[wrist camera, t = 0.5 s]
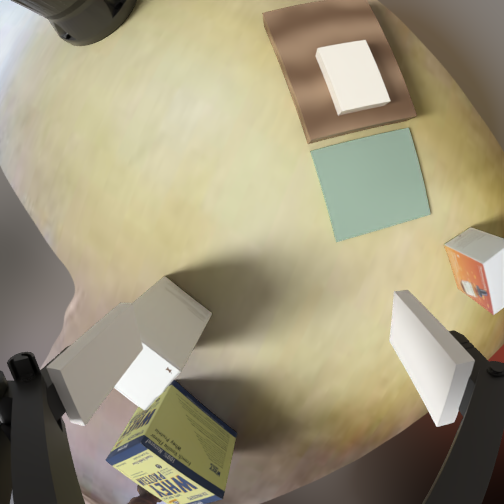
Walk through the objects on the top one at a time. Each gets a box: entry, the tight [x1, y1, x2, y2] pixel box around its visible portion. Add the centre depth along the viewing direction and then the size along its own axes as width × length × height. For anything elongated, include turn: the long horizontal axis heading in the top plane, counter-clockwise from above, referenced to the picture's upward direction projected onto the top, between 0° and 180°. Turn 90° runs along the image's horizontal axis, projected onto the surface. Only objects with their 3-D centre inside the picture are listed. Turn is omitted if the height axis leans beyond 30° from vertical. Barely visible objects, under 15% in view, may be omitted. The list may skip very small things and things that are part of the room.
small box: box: [444, 227, 504, 315], centre depth 34 cm, size 8×6×10 cm
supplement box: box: [114, 276, 212, 410], centre depth 38 cm, size 9×9×15 cm
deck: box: [262, 0, 417, 144], centre depth 33 cm, size 18×14×4 cm
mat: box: [310, 128, 430, 242], centre depth 38 cm, size 12×14×1 cm
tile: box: [316, 40, 390, 116], centre depth 30 cm, size 8×6×2 cm
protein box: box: [106, 380, 237, 504], centre depth 42 cm, size 10×16×16 cm
